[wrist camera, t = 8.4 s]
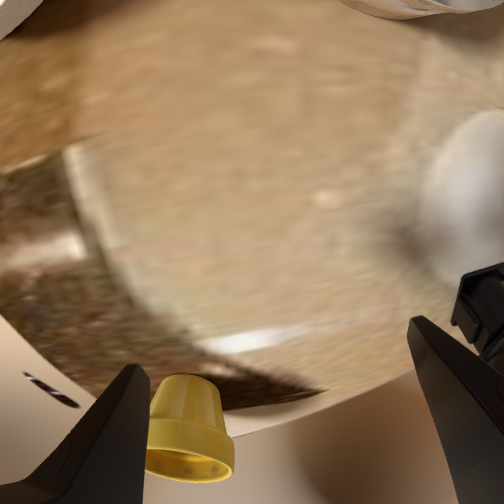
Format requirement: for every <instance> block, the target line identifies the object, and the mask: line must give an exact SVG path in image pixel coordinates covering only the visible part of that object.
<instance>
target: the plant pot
mask: <svg viewBox="0 0 504 504" xmlns="http://www.w3.org/2000/svg"><path fill="white" fill-rule="evenodd" d="M145 471H146V472H148V473H150V474H153V475H156V476H160V477H162V478H166V479H171V480H176V481H182V482H192V483H208V482H217V481H221V480H224V479H227V478H229V477H230V476H231V475H232V474H233V472H234V443H233V441H232V439H231V438H230V437H229V436H228V435H227V432H226V427H225V422H224V417H223V411H222V406H221V399H220V394H219V390H218V388H217V387H216V386H215V385H214V384H213V383H212V382H210V381H208V380H206V379H204V378H202V377H199V376H195V375H189V374H176V375H171V376H168V377H167V378H165V379H164V380H163V381H162V382H161V384H160V386H159V388H158V390H157V392H156V394H155V396H154V398H153V400H152V402H151V404H150V422H149V432H148V441H147V451H146V462H145Z"/></svg>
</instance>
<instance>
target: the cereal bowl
mask: <svg viewBox="0 0 504 504" xmlns="http://www.w3.org/2000/svg"><path fill="white" fill-rule="evenodd" d="M42 2H43V0H0V40H1V39H2V38H4V37H5V36H6V35H7V34H9V33H10V32H12V31H13V29H14V28H15V27H17V26H18V25H20V24H21V22H23V21H24V19H26V18H27V17H28V16H29V15H30V14H31V13H32V12H33V11H34V10H35V9H36V8H37V7H38V6H39V5H40V4H41V3H42Z"/></svg>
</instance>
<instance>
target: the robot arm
mask: <svg viewBox="0 0 504 504" xmlns="http://www.w3.org/2000/svg"><path fill="white" fill-rule="evenodd" d="M451 324H452V326H457V325H458V326H459V328H460V329H461V331H462V333H463V334H464V336H465V338H466V340H467V341H468V343H469V344H473V345H474V346H475V348H476V350H477V351H478V353H479V356H477V355H476V354H475V353H473V352H472V351H470V350H469V349H468V348H467V347H465V346H464V345H463V344H461V343H460V342H459V341H457V340H456V339H455V338H453V337H452V336H450V335H449V334H448V333H446V332H445V331H444V330H442V329H441V328H440V327H438V326H437V325H435V324H434V323H433V322H431V321H430V320H429V319H427V318H426V317H424V316H422V315H419V316H415V317H412V318H411V319H410V321H409V327H408V332H407V341H408V344H409V348H410V351H411V355H412V358H413V362H414V365H415V369H416V373H417V376H418V380H419V383H420V385H421V388H422V390H423V393H424V396H425V398H426V401H427V404H428V407H429V409H430V412H431V415H432V418H433V420H434V423H435V426H436V429H437V432H438V435H439V438H440V441H441V444H442V447H443V450H444V453H445V456H446V460H447V462H448V466H449V469H450V473H451V476H452V480H453V484H454V487H455V491H456V495H457V499H458V503H459V504H504V263H503V264H500V265H497V266H493V267H490V268H487V269H484V270H480V271H477V272H474V273H470V274H467V275H464V276H463V277H462V279H461V282H460V286H459V291H458V295H457V299H456V303H455V307H454V311H453V315H452V318H451ZM149 422H150V379H149V376H148V375H147V374H146V372H145V371H144V369H143V368H142V367H141V365H140V364H138V363H130V364H127V365H126V366H125V367H124V368H123V370H122V371H121V372H120V373H119V374H118V375H117V377H116V378H115V379H114V380H113V381H112V382H111V384H110V385H109V386H108V387H107V388H106V390H105V391H104V392H103V393H102V394H101V395H100V397H99V398H98V399H97V400H96V401H95V403H94V404H93V405H92V406H91V407H90V409H89V410H88V411H87V412H86V413H85V415H84V416H83V417H82V418H81V419H80V421H79V422H78V423H77V424H76V425H75V427H74V428H73V429H72V430H71V431H70V433H69V434H68V435H67V436H66V437H65V439H64V440H63V441H62V442H61V443H60V445H59V446H58V447H57V448H56V449H55V450H54V451H53V452H52V453H51V454H50V455H49V457H47V459H45V460H44V461H43V462H42V463H41V464H40V465H39V466H38V467H37V468H36V469H35V471H33V473H31V474H30V475H29V476H28V477H26V478H25V479H23V480H21V481H18V482H14V483H10V484H4V485H0V504H142V503H143V487H144V473H145V462H146V451H147V441H148V432H149Z"/></svg>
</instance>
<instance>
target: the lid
mask: <svg viewBox="0 0 504 504" xmlns="http://www.w3.org/2000/svg"><path fill="white" fill-rule="evenodd" d="M419 1H421V2H424V3H426V4H429V5H432V6H435V7H438V8H443V9H447V10H453V11H475V10H485V9H489V8H493V7H495V6H498V5H500V4H501V3H502V2H504V0H419Z"/></svg>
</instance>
